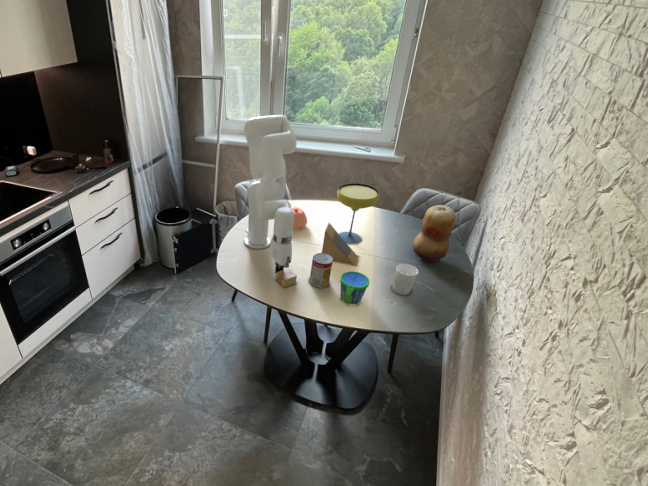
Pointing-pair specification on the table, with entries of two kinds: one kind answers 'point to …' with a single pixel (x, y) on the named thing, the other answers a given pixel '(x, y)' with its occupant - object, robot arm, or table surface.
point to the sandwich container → (338, 247)
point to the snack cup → (353, 286)
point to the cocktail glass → (356, 204)
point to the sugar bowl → (299, 218)
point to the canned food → (321, 270)
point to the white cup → (404, 278)
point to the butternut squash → (435, 233)
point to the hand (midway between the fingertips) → (279, 273)
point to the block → (286, 277)
